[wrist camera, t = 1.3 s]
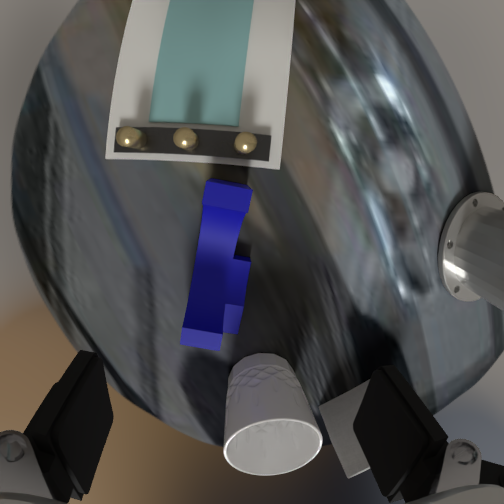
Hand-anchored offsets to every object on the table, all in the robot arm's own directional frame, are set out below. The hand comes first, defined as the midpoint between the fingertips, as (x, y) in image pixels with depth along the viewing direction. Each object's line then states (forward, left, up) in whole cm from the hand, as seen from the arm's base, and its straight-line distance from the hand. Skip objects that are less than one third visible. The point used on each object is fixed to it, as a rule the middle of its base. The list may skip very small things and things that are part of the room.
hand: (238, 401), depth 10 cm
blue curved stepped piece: (+1, 0, -18) cm, 18 cm away
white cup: (-4, +13, -18) cm, 23 cm away
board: (+4, -17, -18) cm, 25 cm away
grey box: (-15, +17, -18) cm, 29 cm away
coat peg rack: (+4, -9, -17) cm, 19 cm away
